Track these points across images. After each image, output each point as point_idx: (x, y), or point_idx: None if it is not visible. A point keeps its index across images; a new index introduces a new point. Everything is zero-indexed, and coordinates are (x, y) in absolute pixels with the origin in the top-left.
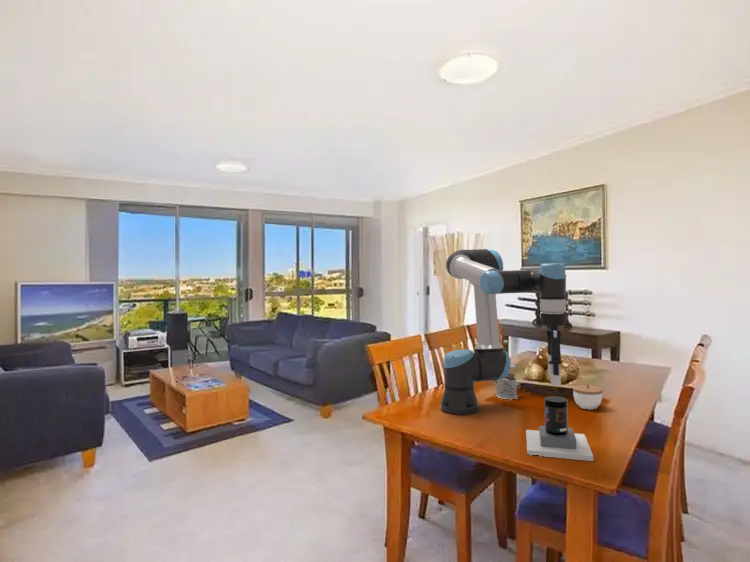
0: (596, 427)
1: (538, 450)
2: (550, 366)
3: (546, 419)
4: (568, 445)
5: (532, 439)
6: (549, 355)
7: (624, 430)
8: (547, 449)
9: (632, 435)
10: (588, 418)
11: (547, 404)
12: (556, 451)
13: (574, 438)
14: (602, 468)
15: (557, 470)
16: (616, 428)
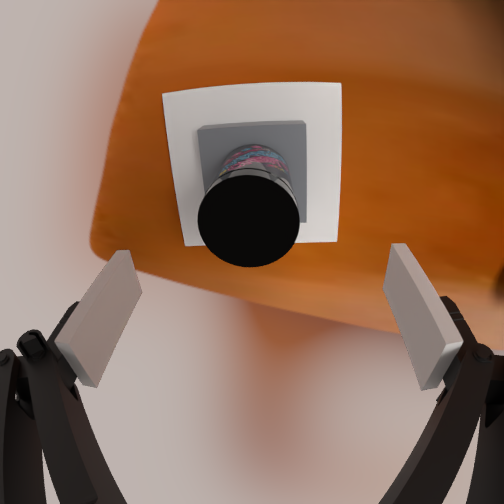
0: None
1: (170, 122)
2: (409, 292)
3: (232, 158)
4: None
5: (254, 100)
6: (442, 352)
7: None
8: (186, 144)
9: (367, 323)
10: (469, 258)
11: (216, 181)
12: (179, 166)
13: None
14: (157, 252)
15: (108, 168)
16: None
